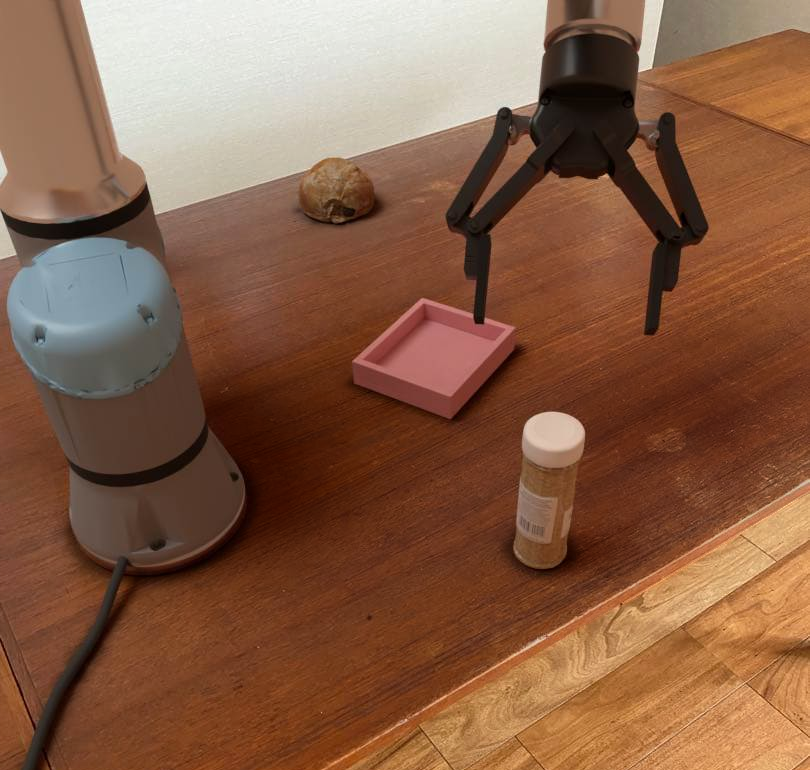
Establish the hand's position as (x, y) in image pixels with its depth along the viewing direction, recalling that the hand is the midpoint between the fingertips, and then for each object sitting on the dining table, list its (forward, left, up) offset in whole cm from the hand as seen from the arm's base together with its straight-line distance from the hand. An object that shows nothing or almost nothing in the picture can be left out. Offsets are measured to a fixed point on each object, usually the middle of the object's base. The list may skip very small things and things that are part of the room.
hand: (563, 326), depth 69 cm
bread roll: (+32, +47, -15) cm, 59 cm away
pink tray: (+8, +17, -15) cm, 24 cm away
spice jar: (-10, -4, -15) cm, 19 cm away
